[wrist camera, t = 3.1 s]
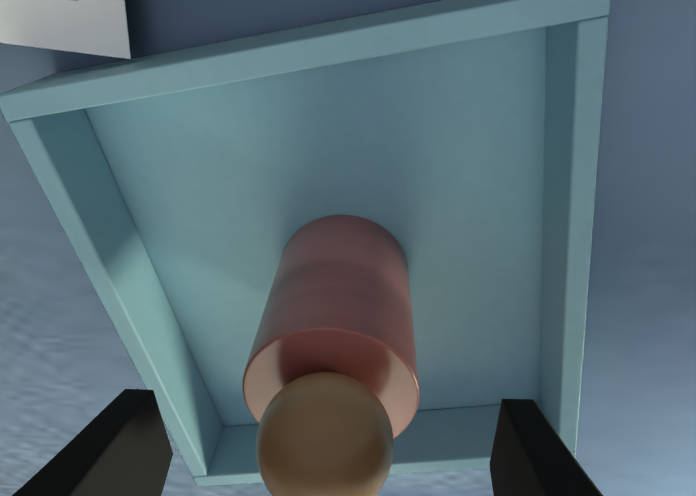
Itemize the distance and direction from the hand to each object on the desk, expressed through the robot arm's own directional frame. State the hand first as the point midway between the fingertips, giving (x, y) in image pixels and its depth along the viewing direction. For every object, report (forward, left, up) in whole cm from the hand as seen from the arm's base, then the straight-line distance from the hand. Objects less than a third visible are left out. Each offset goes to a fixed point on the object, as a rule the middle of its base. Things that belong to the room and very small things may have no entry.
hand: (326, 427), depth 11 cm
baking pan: (0, 0, -6) cm, 6 cm away
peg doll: (0, 0, -6) cm, 6 cm away
